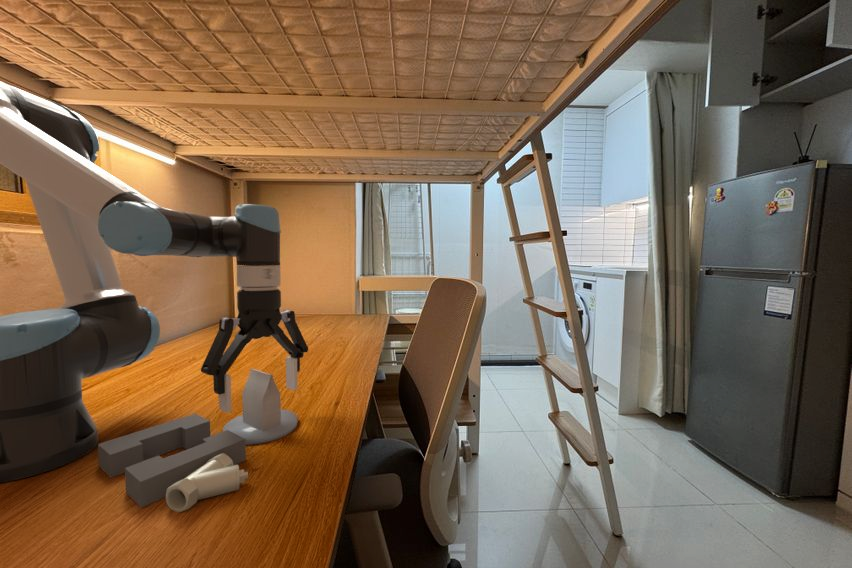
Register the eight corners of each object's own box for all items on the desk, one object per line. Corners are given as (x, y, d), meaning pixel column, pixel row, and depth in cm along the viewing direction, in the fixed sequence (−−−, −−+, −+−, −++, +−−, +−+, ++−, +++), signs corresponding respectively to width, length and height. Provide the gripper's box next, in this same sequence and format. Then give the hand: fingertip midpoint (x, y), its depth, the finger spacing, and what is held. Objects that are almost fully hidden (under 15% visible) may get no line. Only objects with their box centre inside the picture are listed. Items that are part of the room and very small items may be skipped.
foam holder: (98, 465, 57) (97, 444, 56) (195, 431, 68) (195, 413, 68) (141, 507, 47) (140, 481, 47) (245, 459, 59) (245, 438, 59)
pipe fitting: (252, 484, 53) (213, 475, 55) (254, 459, 53) (214, 450, 54) (209, 522, 46) (165, 510, 47) (211, 493, 45) (166, 481, 47)
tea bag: (262, 431, 67) (261, 377, 66) (242, 421, 70) (241, 371, 70) (280, 424, 70) (280, 372, 69) (260, 415, 73) (259, 366, 73)
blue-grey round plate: (209, 431, 68) (209, 426, 68) (272, 408, 79) (272, 404, 79) (247, 452, 61) (247, 446, 61) (311, 424, 72) (311, 419, 72)
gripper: (197, 294, 56) (201, 427, 57) (324, 286, 77) (325, 384, 78) (175, 291, 60) (179, 416, 62) (302, 284, 81) (303, 378, 82)
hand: (261, 398), depth 70 cm, fingers open, 13 cm apart
